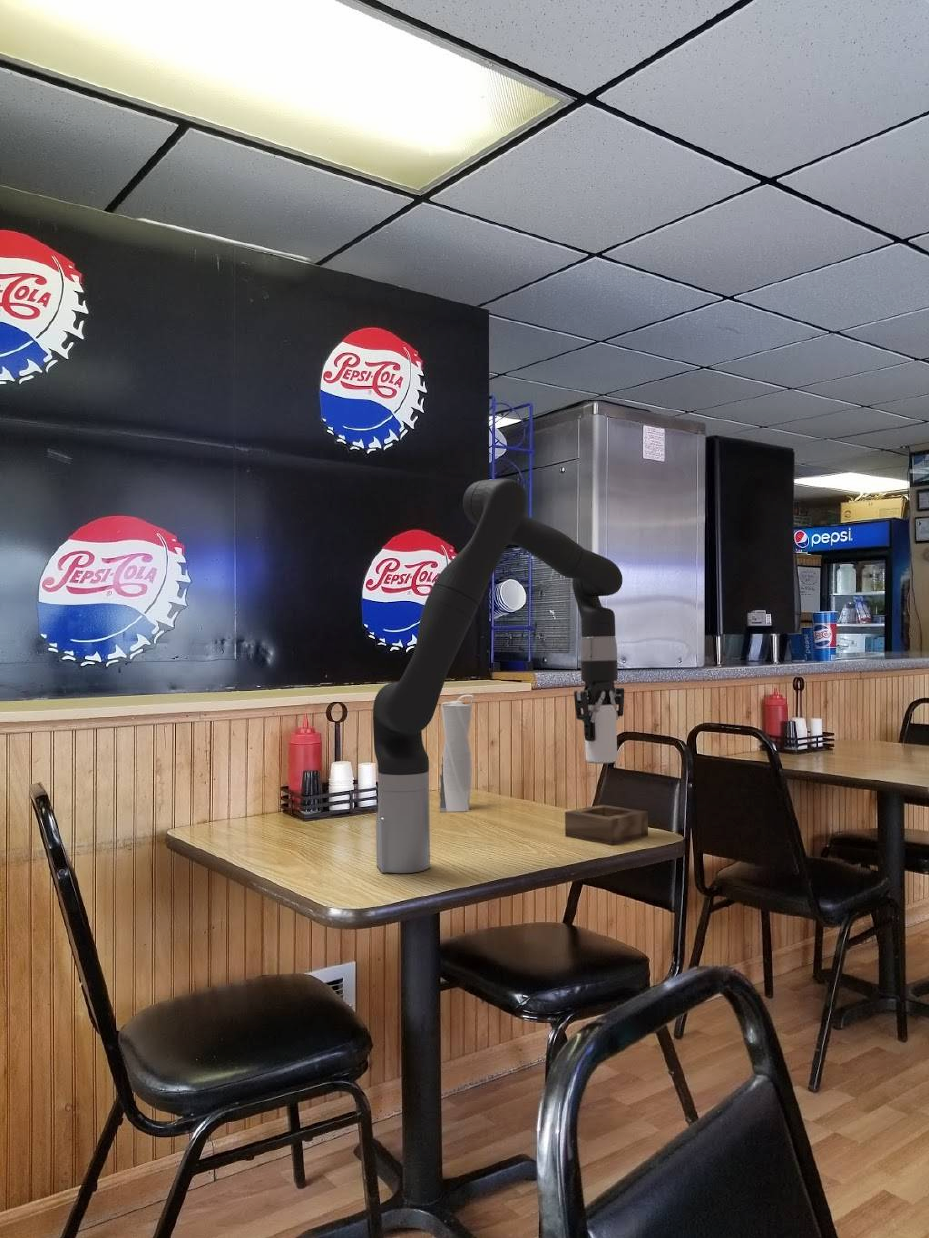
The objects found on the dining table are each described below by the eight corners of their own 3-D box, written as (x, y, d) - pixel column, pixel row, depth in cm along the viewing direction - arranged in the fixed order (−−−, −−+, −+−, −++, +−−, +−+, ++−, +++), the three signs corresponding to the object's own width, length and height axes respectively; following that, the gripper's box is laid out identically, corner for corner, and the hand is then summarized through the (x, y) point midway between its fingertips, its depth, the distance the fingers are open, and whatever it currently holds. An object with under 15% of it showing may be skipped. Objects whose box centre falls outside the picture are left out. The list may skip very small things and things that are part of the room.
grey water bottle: (473, 807, 228) (472, 693, 229) (475, 813, 220) (474, 695, 221) (439, 808, 228) (438, 694, 229) (440, 814, 220) (438, 695, 221)
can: (616, 763, 189) (615, 704, 189) (584, 763, 190) (583, 704, 191) (617, 759, 195) (616, 702, 196) (586, 759, 197) (585, 702, 197)
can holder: (611, 845, 183) (610, 819, 183) (565, 836, 192) (565, 811, 192) (648, 835, 191) (647, 811, 192) (602, 827, 200) (602, 804, 200)
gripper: (591, 659, 186) (592, 743, 185) (634, 657, 195) (636, 737, 195) (562, 659, 191) (564, 741, 191) (606, 657, 201) (608, 735, 201)
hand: (600, 739), depth 193 cm, fingers closed on can, 6 cm apart
